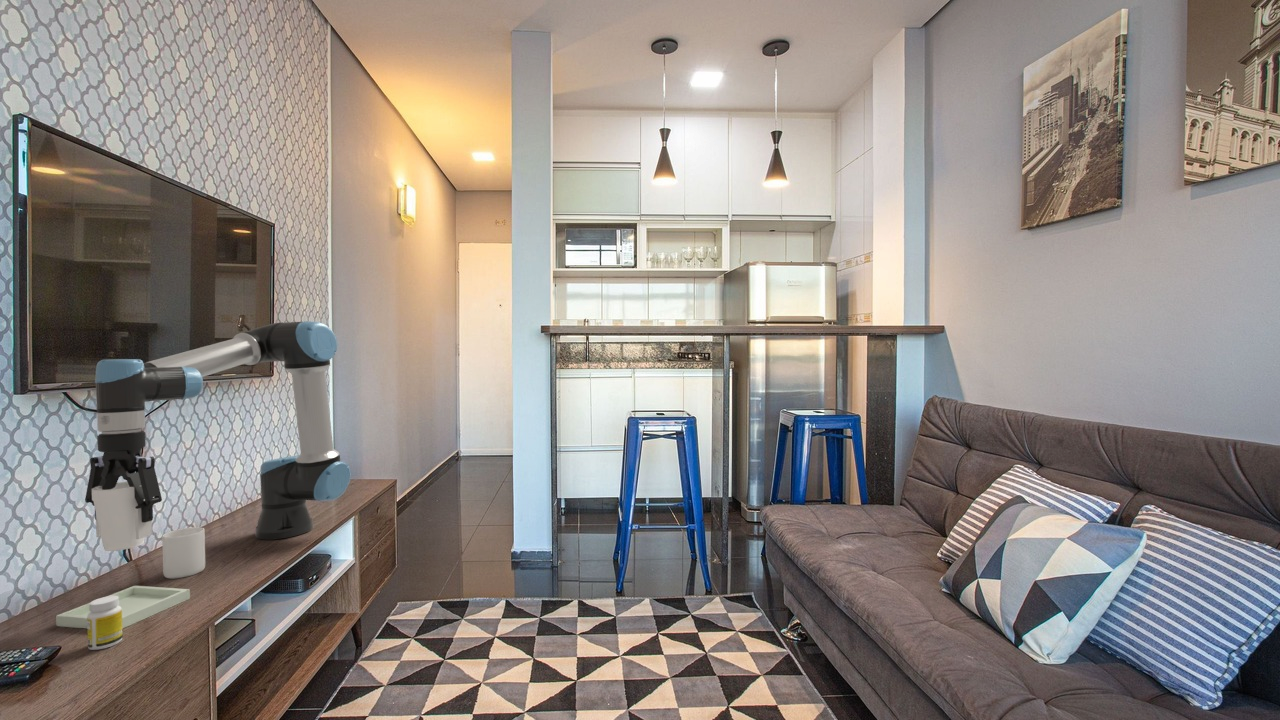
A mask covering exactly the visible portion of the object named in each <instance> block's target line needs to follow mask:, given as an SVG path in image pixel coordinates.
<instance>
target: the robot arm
mask: <svg viewBox="0 0 1280 720" xmlns="http://www.w3.org/2000/svg"><path fill="white" fill-rule="evenodd" d="M337 350H338V340H337V338H336V335H335V333H334V331H333V330H332V328H330V327H329V326H328V325H327V324H325V323H323V322H319V321H310V320H309V321H308V320H305V321H294V322H293V321H291V322H289V321H288V322H274V323H270V324H267V325H263V326H259V327H256V328H253V329H249V330H247V331H242V332H240V333H239V332H238V333H237V334H235V335H234V337H233V338H231V339H228V340H224V341H220V342H216V343H212V344H210V345H205V346H201V347H198V348H195V349H191V350H187V351H184V352H180V353H176V354H173V355H172V354H171V355H168V356H165V357H161V358H157V359H154V360H150V361H146V362H144V361H143V360H141V359H139V358H136V359H135V358H134V359H132V358H131V359H130V358H129V359H128V358H125V359H123V358H122V359H118V358H115V359H113V358H112V359H101V360H99V361H98V362H97V364H96V367H95V378H94V383H95V396H96V398H95V399H96V413H97V415H96V416H97V417H96V418H97V422H96V423H97V426H96V427H97V431H98V432H101V433H99V434H98V435H97V444H96V445H97V452H101V453H103V455H100V456H94V457H93V456H92V457H90V458H89V459H90V460H89V462H90V471H89V472H90V473H89V478H88V481H87V482H88V483H87V488H86V492H85V493H86V494H85V497H84V500H85V501H84V502H85V503H87V504H88V503H91V505H92V506H93V507H95V506H94V501H92V489H93V488H94V487H97V486H102V490H109V489H113V488H115V486H116V484H117V482H119V479H120V478H121V477H122V479H123V480H125V481H127V482H128V484H129V486H130V487H134V494H135V499H136V501H137V504H138V506H136V507H135V530H136V539H141V538H145V539H146V538H148V537H150V536H153V524H152V523H153V519H154V505H155V504H158V503H160V502H161V503H162V500H163V498H162V495H161V489H160V486H159V481H158V477H157V473H156V469H155V463H156V461H155V460H156V458H155V457H154V456H147V457H146V456H145V457H144V456H143V455H142V452H141V450H142V449H143V448H145V447H146V432H145V431H144V430H142V429H145V428H146V411H145V409H146V408H145V404H146V403H147V402H156V401H157V402H159V401H170V400H171V401H172V400H173V401H175V400H182V401H183V400H184V399H185V400H186V399H192V398H195V397H197V396H199V394H200V393H202V389H203V387H204V383H203V381H204V377H206V376H209V375H213V374H218V373H219V372H222V371H226V370H229V369H232V368H235V367H239V366H241V365H247V366H252V365H256V364H261V363H269V362H284V370H285V371H286V372H288V373H289V374H291V379H292V380H291V381H292V386H293V387H292V389H293V395H294V396H293V397H294V406H295V414H296V422H297V431H298V440H299V448H300V454H299V455H297V454H296V455H292V456H291V455H290V456H285V457H284V456H283V457H279V458H274V459H269V460H267V461H264V462H262V464H261V466H260V474H259V477H260V496H261V497H260V500H261V501H260V502H261V510H260V513H259V517H258V520H257V524H256V527H255V531H254V537H255V538H257V540H259V539H260V540H278V539H286V538H292V537H295V536H300V535H304V534H305V533H308V532H310V531H312V529H314V520H313V518H312V517H311V514H310V512H309V509H308V505H307V501H316V502H331V501H335V500H337V499H339V498H340V497H341V496H343V494H344V493H345V492H346V490H347V488H348V487H349V485H350V483H351V475H352V474H351V469H350V466H349V465H347V463H346V462H344V461H341V455H340V454H341V453H340V452H339V451H338V450H336V449H335V448H334V442H333V433H332V425H331V423H332V422H331V415H330V413H331V412H330V405H329V397H328V387H327V386H328V385H327V376H326V371H327V370H328V369H329V367H330V366H331V363H330V362H331V360H332V358H334V357H335V355H336V353H337ZM144 499H145V501H144ZM94 520H95V528H96V529H95V530H96V532H95V533H96V535H95V536H96V538H101V534H100V529H99V525H98V520H97V515H96V511H95V510H94Z"/></svg>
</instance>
